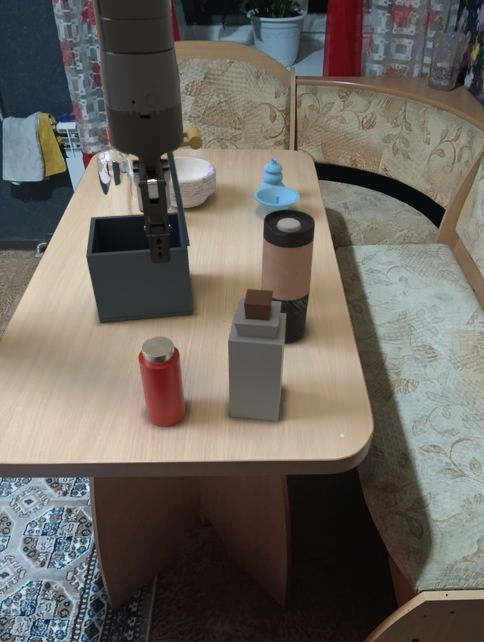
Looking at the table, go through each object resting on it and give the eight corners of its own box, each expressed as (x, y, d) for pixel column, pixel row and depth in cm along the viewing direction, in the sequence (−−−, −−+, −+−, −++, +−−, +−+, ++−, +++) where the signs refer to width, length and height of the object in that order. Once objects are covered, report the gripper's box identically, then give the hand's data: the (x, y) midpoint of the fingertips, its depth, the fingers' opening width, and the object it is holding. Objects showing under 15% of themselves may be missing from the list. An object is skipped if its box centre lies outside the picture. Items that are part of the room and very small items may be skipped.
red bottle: (140, 418, 75) (128, 351, 67) (162, 395, 78) (153, 329, 71) (171, 431, 73) (162, 364, 65) (192, 407, 77) (186, 341, 69)
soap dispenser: (301, 223, 122) (304, 184, 116) (255, 224, 121) (255, 185, 115) (291, 190, 136) (293, 154, 130) (249, 191, 135) (250, 154, 129)
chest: (100, 323, 91) (85, 256, 83) (103, 280, 102) (91, 217, 94) (192, 314, 94) (187, 248, 86) (186, 273, 104) (181, 211, 96)
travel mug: (296, 314, 95) (304, 206, 82) (312, 340, 89) (324, 228, 76) (254, 321, 93) (256, 212, 80) (268, 348, 87) (272, 235, 75)
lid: (164, 142, 75) (203, 136, 75) (160, 113, 85) (194, 108, 86) (185, 246, 85) (218, 241, 86) (179, 209, 96) (209, 204, 96)
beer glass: (107, 231, 117) (95, 162, 107) (106, 217, 122) (95, 150, 112) (140, 228, 118) (131, 160, 108) (138, 215, 123) (129, 148, 114)
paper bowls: (222, 210, 126) (221, 177, 121) (156, 216, 123) (152, 182, 118) (211, 185, 137) (209, 153, 132) (150, 189, 134) (146, 157, 129)
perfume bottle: (236, 383, 81) (235, 280, 69) (281, 387, 80) (288, 284, 69) (229, 416, 75) (227, 310, 64) (278, 421, 75) (284, 315, 64)
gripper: (106, 80, 59) (126, 219, 69) (102, 120, 48) (127, 277, 58) (175, 78, 60) (185, 215, 70) (187, 117, 49) (197, 271, 60)
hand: (159, 243), depth 64 cm, fingers open, 8 cm apart
